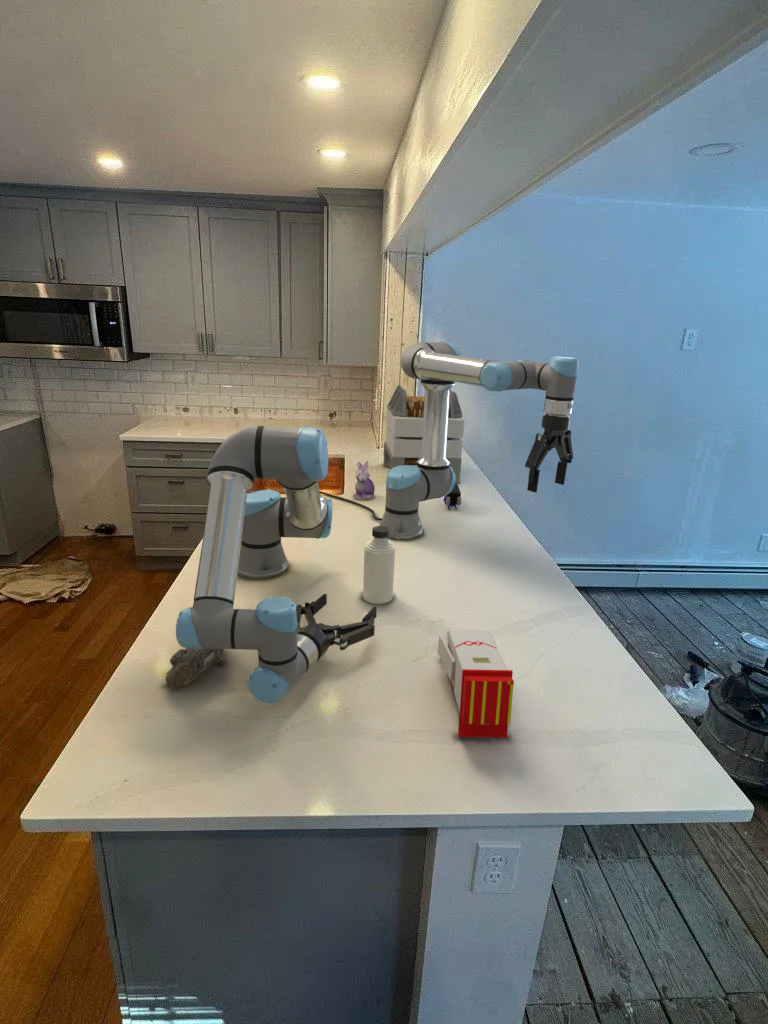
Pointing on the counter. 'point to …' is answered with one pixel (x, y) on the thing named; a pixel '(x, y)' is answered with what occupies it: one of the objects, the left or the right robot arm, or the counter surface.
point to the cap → (380, 532)
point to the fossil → (189, 665)
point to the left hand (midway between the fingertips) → (349, 605)
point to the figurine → (363, 483)
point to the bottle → (378, 571)
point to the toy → (478, 682)
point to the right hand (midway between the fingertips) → (545, 487)
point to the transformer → (418, 431)
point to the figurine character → (453, 497)
